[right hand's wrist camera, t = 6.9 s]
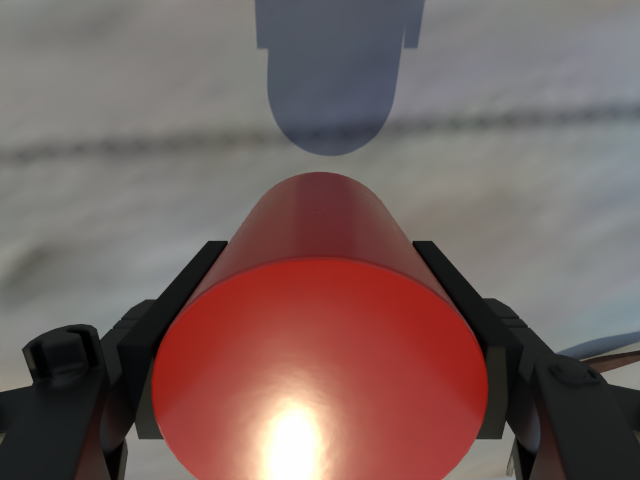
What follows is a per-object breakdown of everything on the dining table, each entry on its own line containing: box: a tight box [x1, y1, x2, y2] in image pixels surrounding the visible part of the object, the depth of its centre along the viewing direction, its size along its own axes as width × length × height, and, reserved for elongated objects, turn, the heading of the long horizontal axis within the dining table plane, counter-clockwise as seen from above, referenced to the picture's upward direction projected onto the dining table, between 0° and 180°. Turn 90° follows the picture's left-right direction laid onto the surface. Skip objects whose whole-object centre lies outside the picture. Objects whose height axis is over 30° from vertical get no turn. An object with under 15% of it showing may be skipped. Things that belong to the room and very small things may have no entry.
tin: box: [151, 172, 488, 480], centre depth 12 cm, size 7×7×10 cm
